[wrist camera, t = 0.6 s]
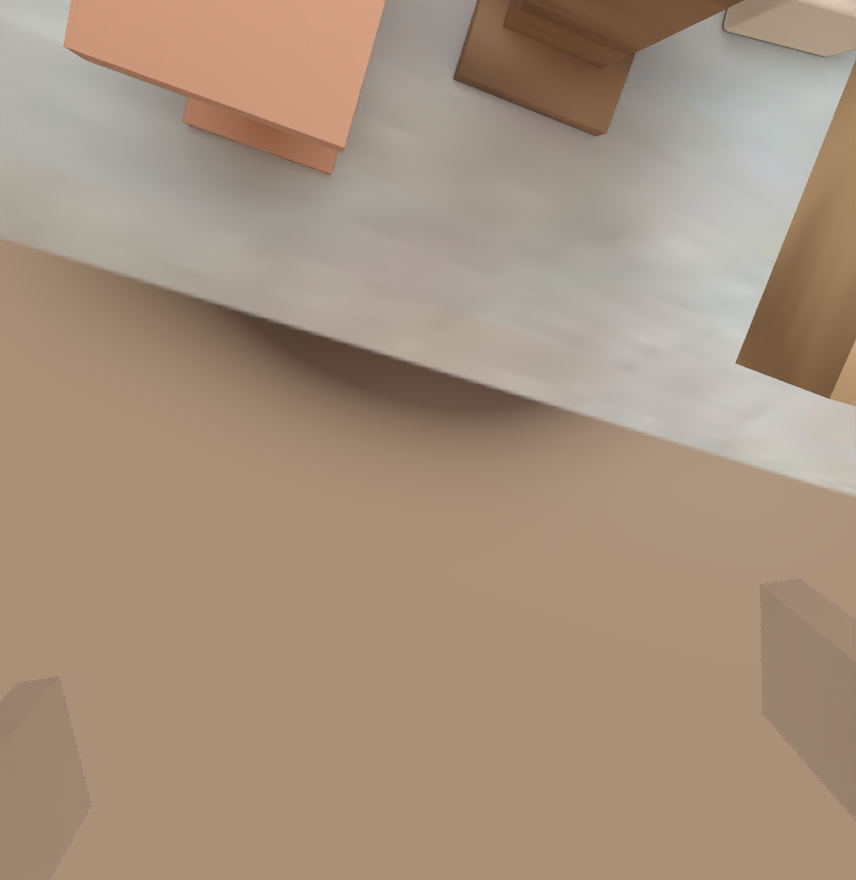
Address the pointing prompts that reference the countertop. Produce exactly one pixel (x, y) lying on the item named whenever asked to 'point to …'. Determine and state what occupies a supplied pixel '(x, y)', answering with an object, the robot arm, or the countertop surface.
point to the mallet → (815, 277)
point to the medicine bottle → (797, 23)
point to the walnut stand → (568, 51)
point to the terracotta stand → (243, 64)
